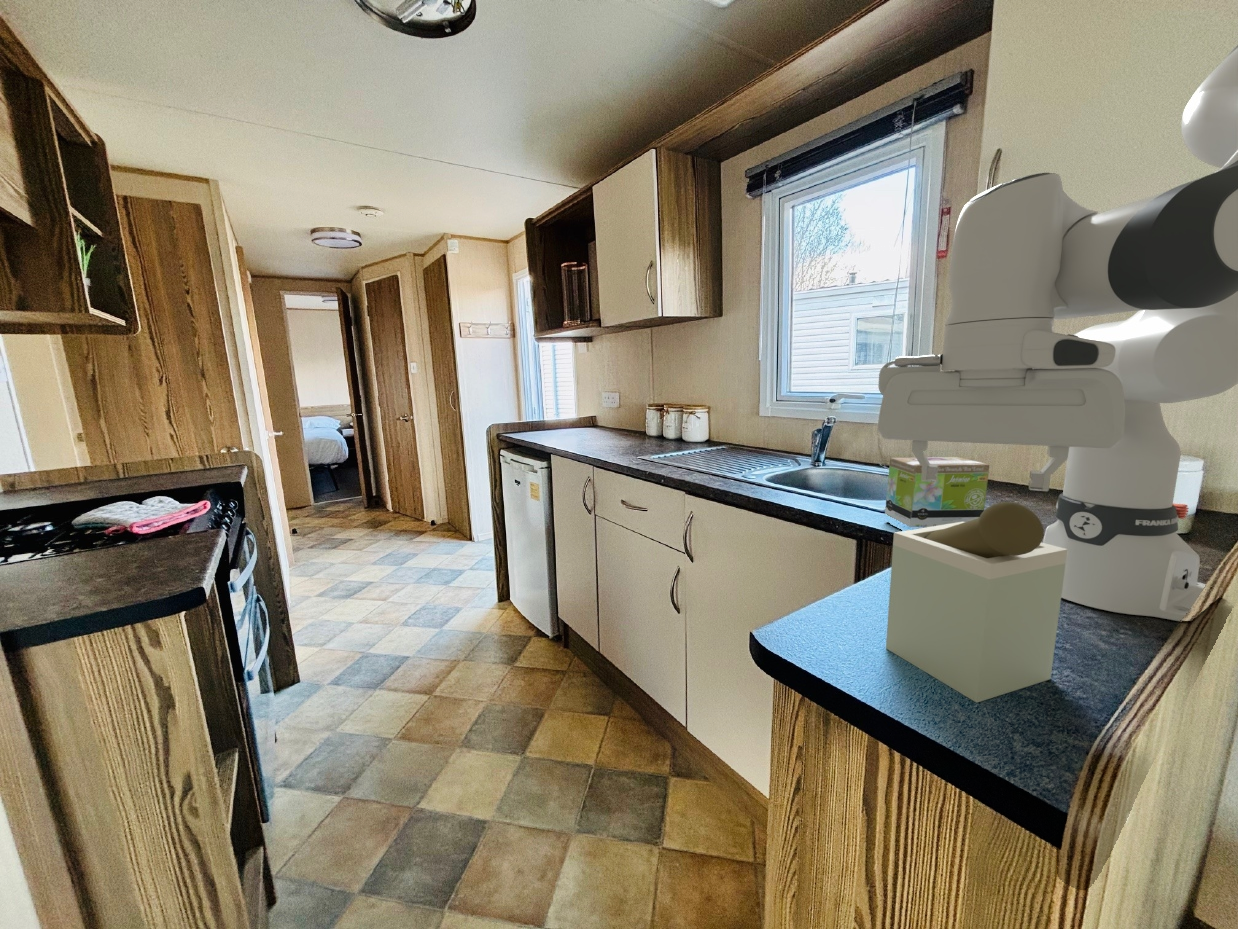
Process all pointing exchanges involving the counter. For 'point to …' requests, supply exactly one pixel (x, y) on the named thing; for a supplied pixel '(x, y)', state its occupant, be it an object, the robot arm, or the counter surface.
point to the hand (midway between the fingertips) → (980, 485)
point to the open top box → (974, 613)
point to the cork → (995, 532)
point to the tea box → (936, 491)
